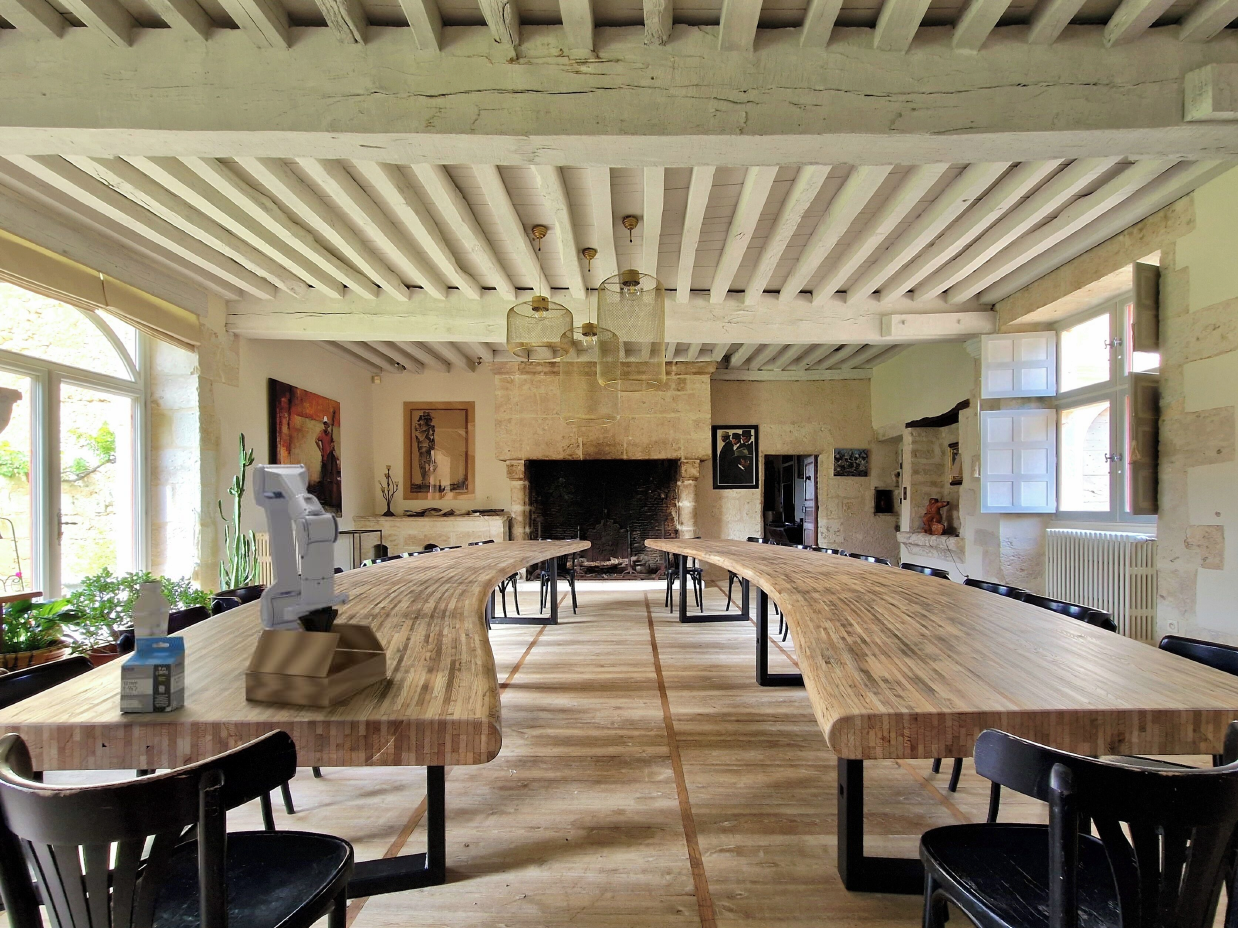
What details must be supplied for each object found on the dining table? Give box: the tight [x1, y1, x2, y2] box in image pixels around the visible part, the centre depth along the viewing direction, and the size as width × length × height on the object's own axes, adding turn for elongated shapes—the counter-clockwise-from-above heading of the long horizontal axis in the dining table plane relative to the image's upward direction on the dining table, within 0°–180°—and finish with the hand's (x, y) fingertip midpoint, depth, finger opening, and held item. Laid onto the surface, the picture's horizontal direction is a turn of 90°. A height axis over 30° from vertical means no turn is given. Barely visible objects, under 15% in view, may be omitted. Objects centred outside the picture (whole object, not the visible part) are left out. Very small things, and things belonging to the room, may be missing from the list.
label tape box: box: [119, 635, 186, 713], centre depth 106 cm, size 9×4×12 cm, turn 92°
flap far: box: [297, 621, 386, 652], centre depth 120 cm, size 17×8×1 cm
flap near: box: [246, 628, 340, 677], centre depth 108 cm, size 17×8×1 cm
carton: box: [244, 649, 388, 709], centre depth 114 cm, size 18×16×5 cm
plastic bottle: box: [131, 579, 171, 654], centre depth 122 cm, size 6×7×20 cm
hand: (318, 648), depth 114 cm, fingers closed
